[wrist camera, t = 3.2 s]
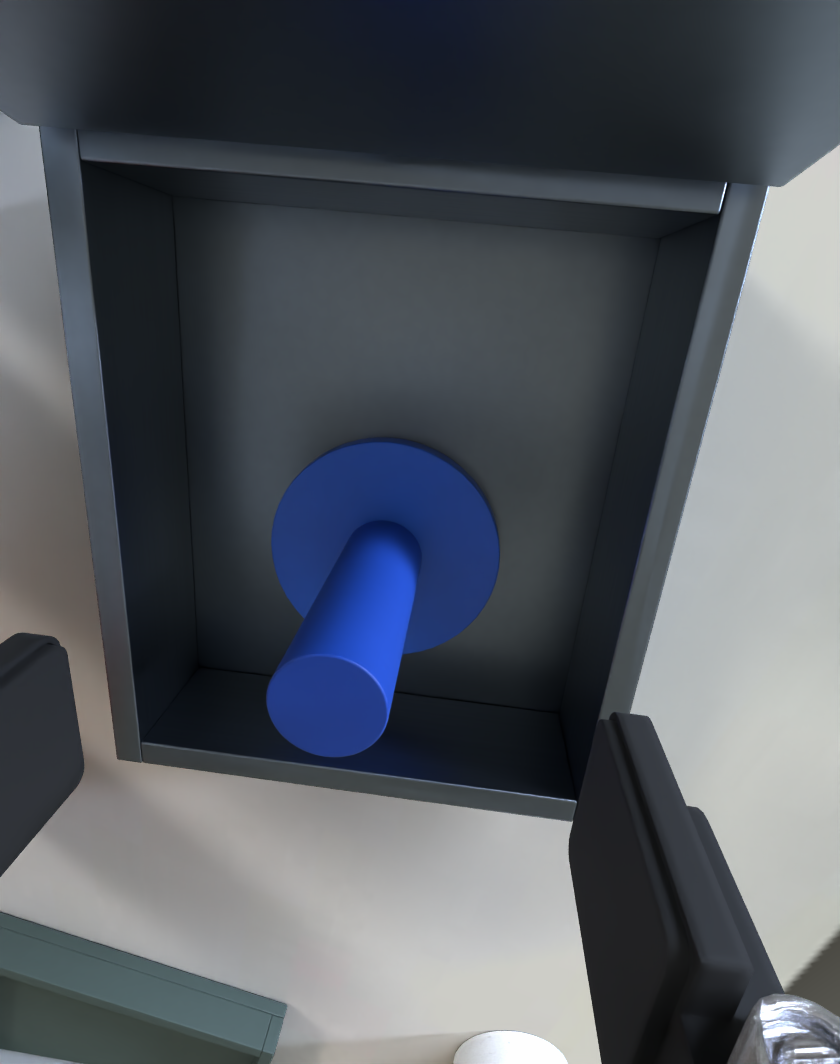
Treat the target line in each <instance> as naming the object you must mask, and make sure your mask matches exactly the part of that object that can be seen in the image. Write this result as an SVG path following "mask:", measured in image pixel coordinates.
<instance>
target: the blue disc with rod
mask: <svg viewBox="0 0 840 1064" xmlns="http://www.w3.org/2000/svg"><path fill="white" fill-rule="evenodd" d="M271 547H272V558H273V562H274V567H275V571H276V574H277V577H278V579H279V582H280V585H281V586H282V588H283V590H284V592H285V594H286V596H287V598H288V599H289V600H290V602H291V603H292V605H293V606H294V608H295V609H296V610H297V611H298V612H299V613H300V615H301V616H302V617H303V618H304V621H303V622H302V624H301V626H300V628H299V630H298V631H297V633H296V635H295V637H294V639H293V640H292V642H291V644H290V646H289V648H288V649H287V651H286V653H285V655H284V657H283V658H282V660H281V662H280V664H279V666H278V667H277V669H276V671H275V673H274V674H273V676H272V678H271V680H270V682H269V685H268V688H267V694H266V702H267V709H268V713H269V716H270V718H271V721H272V722H273V724H274V726H275V727H276V729H277V730H278V731H279V733H280V734H281V735H282V736H283V737H284V738H285V739H287V740H288V741H289V742H290V743H292V744H293V745H295V746H296V747H298V748H300V749H302V750H304V751H306V752H309V753H311V754H315V755H318V756H324V757H345V756H350V755H354V754H357V753H359V752H362V751H364V750H365V749H367V748H369V747H370V746H371V745H373V744H374V743H375V742H376V741H377V740H378V739H379V738H380V736H381V735H382V733H383V732H384V730H385V728H386V725H387V722H388V718H389V713H390V708H391V704H392V699H393V694H394V690H395V685H396V680H397V676H398V671H399V666H400V662H401V657H402V654H409V653H415V652H420V651H424V650H427V649H430V648H433V647H436V646H438V645H440V644H442V643H445V642H446V641H448V640H450V639H451V638H453V637H455V636H456V635H458V634H459V633H460V632H462V631H463V630H464V629H465V628H467V627H468V626H469V625H470V624H471V623H472V622H473V621H474V620H475V619H476V617H477V616H478V615H479V614H480V612H481V611H482V610H483V608H484V607H485V605H486V603H487V602H488V600H489V598H490V596H491V594H492V591H493V589H494V586H495V583H496V580H497V575H498V570H499V562H500V546H499V535H498V529H497V525H496V520H495V517H494V514H493V512H492V509H491V506H490V504H489V502H488V500H487V498H486V497H485V495H484V493H483V491H482V490H481V489H480V487H479V486H478V485H477V483H476V482H475V480H474V479H473V478H472V477H471V476H470V475H469V474H468V473H467V472H466V471H465V470H464V469H463V468H462V467H461V466H459V465H458V464H457V463H456V462H454V461H453V460H452V459H450V458H449V457H447V456H445V455H444V454H442V453H440V452H439V451H437V450H435V449H432V448H430V447H428V446H425V445H423V444H420V443H416V442H413V441H409V440H404V439H398V438H383V437H376V438H366V439H360V440H356V441H352V442H348V443H345V444H342V445H340V446H337V447H335V448H333V449H331V450H329V451H327V452H326V453H324V454H322V455H320V456H319V457H318V458H316V459H315V460H314V461H313V462H311V463H310V464H309V465H308V466H307V467H305V468H304V469H303V470H302V471H301V472H300V474H299V475H298V476H297V477H296V478H295V479H294V480H293V481H292V483H291V484H290V485H289V487H288V488H287V490H286V491H285V493H284V495H283V497H282V499H281V501H280V503H279V505H278V508H277V511H276V514H275V517H274V522H273V527H272V538H271Z"/></svg>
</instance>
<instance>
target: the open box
mask: <svg viewBox="0 0 840 1064" xmlns="http://www.w3.org/2000/svg"><path fill="white" fill-rule="evenodd" d="M39 131H40V139H41V147H42V155H43V163H44V171H45V179H46V187H47V196H48V204H49V212H50V220H51V228H52V236H53V244H54V252H55V260H56V268H57V276H58V285H59V293H60V301H61V309H62V317H63V325H64V333H65V341H66V349H67V357H68V365H69V373H70V382H71V390H72V398H73V406H74V414H75V422H76V430H77V438H78V446H79V454H80V462H81V471H82V479H83V487H84V495H85V503H86V511H87V519H88V527H89V535H90V543H91V551H92V559H93V568H94V576H95V584H96V592H97V600H98V608H99V616H100V624H101V632H102V640H103V648H104V657H105V665H106V673H107V681H108V689H109V697H110V705H111V713H112V721H113V729H114V737H115V745H116V754H117V759H119V760H126V761H133V762H140V763H141V762H144V763H150V764H157V765H164V766H172V767H179V768H186V769H193V770H200V771H208V772H215V773H222V774H229V775H237V776H244V777H251V778H258V779H265V780H273V781H280V782H287V783H294V784H302V785H309V786H316V787H323V788H330V789H338V790H345V791H352V792H359V793H367V794H374V795H381V796H388V797H395V798H403V799H410V800H417V801H424V802H432V803H439V804H446V805H453V806H460V807H468V808H475V809H482V810H489V811H497V812H504V813H511V814H518V815H525V816H533V817H540V818H547V819H554V820H562V821H569V822H572V821H573V820H574V816H575V812H576V808H577V804H578V800H579V796H580V792H581V788H582V784H583V780H584V776H585V772H586V768H587V764H588V759H589V755H590V751H591V747H592V743H593V739H594V735H595V731H596V727H597V724H598V721H599V720H600V719H605V720H609V717H610V715H611V714H612V713H613V712H620V713H627V714H630V710H631V706H632V703H633V699H634V695H635V691H636V688H637V684H638V680H639V676H640V672H641V669H642V665H643V661H644V657H645V654H646V650H647V646H648V642H649V639H650V635H651V631H652V627H653V624H654V620H655V616H656V612H657V609H658V605H659V601H660V597H661V593H662V590H663V586H664V582H665V578H666V575H667V571H668V567H669V563H670V560H671V556H672V552H673V548H674V545H675V541H676V537H677V533H678V530H679V526H680V522H681V518H682V514H683V511H684V507H685V503H686V499H687V496H688V492H689V488H690V484H691V481H692V477H693V473H694V469H695V466H696V462H697V458H698V454H699V451H700V447H701V443H702V439H703V435H704V432H705V428H706V424H707V420H708V417H709V413H710V409H711V405H712V402H713V398H714V394H715V390H716V387H717V383H718V379H719V375H720V372H721V368H722V364H723V360H724V356H725V353H726V349H727V345H728V341H729V338H730V334H731V330H732V326H733V323H734V319H735V315H736V311H737V308H738V304H739V300H740V296H741V293H742V289H743V285H744V281H745V277H746V274H747V270H748V266H749V262H750V259H751V255H752V251H753V247H754V244H755V240H756V236H757V232H758V229H759V225H760V221H761V217H762V214H763V210H764V206H765V202H766V198H767V195H768V191H769V187H770V186H763V185H751V184H739V183H727V182H715V181H702V180H690V179H678V178H666V177H654V176H642V175H629V174H617V173H605V172H593V171H581V170H568V169H556V168H544V167H532V166H520V165H508V164H495V163H483V162H471V161H459V160H447V159H434V158H422V157H410V156H398V155H386V154H374V153H361V152H349V151H337V150H325V149H313V148H300V147H288V146H276V145H264V144H252V143H240V142H227V141H215V140H203V139H191V138H179V137H167V136H154V135H142V134H130V133H118V132H106V131H93V130H81V129H69V128H57V127H45V126H39ZM376 437H383V438H398V439H404V440H409V441H413V442H416V443H420V444H423V445H425V446H428V447H430V448H432V449H435V450H437V451H439V452H440V453H442V454H444V455H445V456H447V457H449V458H450V459H452V460H453V461H454V462H456V463H457V464H458V465H459V466H461V467H462V468H463V469H464V470H465V471H466V472H467V473H468V474H469V475H470V476H471V477H472V478H473V479H474V480H475V482H476V483H477V485H478V486H479V487H480V489H481V490H482V491H483V493H484V495H485V497H486V498H487V500H488V502H489V504H490V506H491V509H492V512H493V514H494V517H495V520H496V525H497V529H498V535H499V546H500V562H499V570H498V575H497V580H496V583H495V586H494V589H493V591H492V594H491V596H490V598H489V600H488V602H487V603H486V605H485V607H484V608H483V610H482V611H481V612H480V614H479V615H478V616H477V617H476V619H475V620H474V621H473V622H472V623H471V624H470V625H469V626H468V627H467V628H465V629H464V630H463V631H462V632H460V633H459V634H458V635H456V636H455V637H453V638H451V639H450V640H448V641H446V642H445V643H442V644H440V645H438V646H436V647H433V648H430V649H427V650H424V651H420V652H415V653H409V654H402V657H401V662H400V666H399V671H398V676H397V680H396V685H395V690H394V694H393V699H392V704H391V708H390V713H389V718H388V722H387V725H386V728H385V730H384V732H383V733H382V735H381V736H380V738H379V739H378V740H377V741H376V742H375V743H374V744H373V745H371V746H370V747H369V748H367V749H365V750H364V751H362V752H359V753H357V754H354V755H350V756H345V757H324V756H318V755H315V754H311V753H309V752H306V751H304V750H302V749H300V748H298V747H296V746H295V745H293V744H292V743H290V742H289V741H288V740H287V739H285V738H284V737H283V736H282V735H281V734H280V733H279V731H278V730H277V729H276V727H275V726H274V724H273V722H272V721H271V718H270V716H269V713H268V709H267V702H266V694H267V688H268V685H269V682H270V680H271V678H272V676H273V674H274V673H275V671H276V669H277V667H278V666H279V664H280V662H281V660H282V658H283V657H284V655H285V653H286V651H287V649H288V648H289V646H290V644H291V642H292V640H293V639H294V637H295V635H296V633H297V631H298V630H299V628H300V626H301V624H302V622H303V621H304V618H303V617H302V616H301V615H300V613H299V612H298V611H297V610H296V609H295V608H294V606H293V605H292V603H291V602H290V600H289V599H288V598H287V596H286V594H285V592H284V590H283V588H282V586H281V585H280V582H279V579H278V577H277V574H276V571H275V567H274V562H273V558H272V547H271V538H272V527H273V522H274V517H275V514H276V511H277V508H278V505H279V503H280V501H281V499H282V497H283V495H284V493H285V491H286V490H287V488H288V487H289V485H290V484H291V483H292V481H293V480H294V479H295V478H296V477H297V476H298V475H299V474H300V472H301V471H302V470H303V469H304V468H305V467H307V466H308V465H309V464H310V463H311V462H313V461H314V460H315V459H316V458H318V457H319V456H320V455H322V454H324V453H326V452H327V451H329V450H331V449H333V448H335V447H337V446H340V445H342V444H345V443H348V442H352V441H356V440H360V439H366V438H376Z"/></svg>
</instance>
